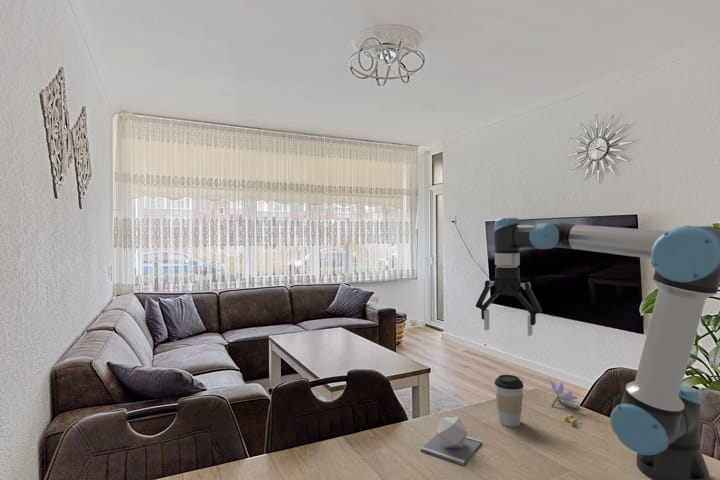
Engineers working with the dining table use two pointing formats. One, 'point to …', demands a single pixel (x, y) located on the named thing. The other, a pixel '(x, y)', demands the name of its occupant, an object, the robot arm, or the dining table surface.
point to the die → (451, 432)
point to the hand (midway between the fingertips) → (507, 332)
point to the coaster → (452, 449)
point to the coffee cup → (509, 399)
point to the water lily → (562, 394)
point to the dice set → (571, 420)
